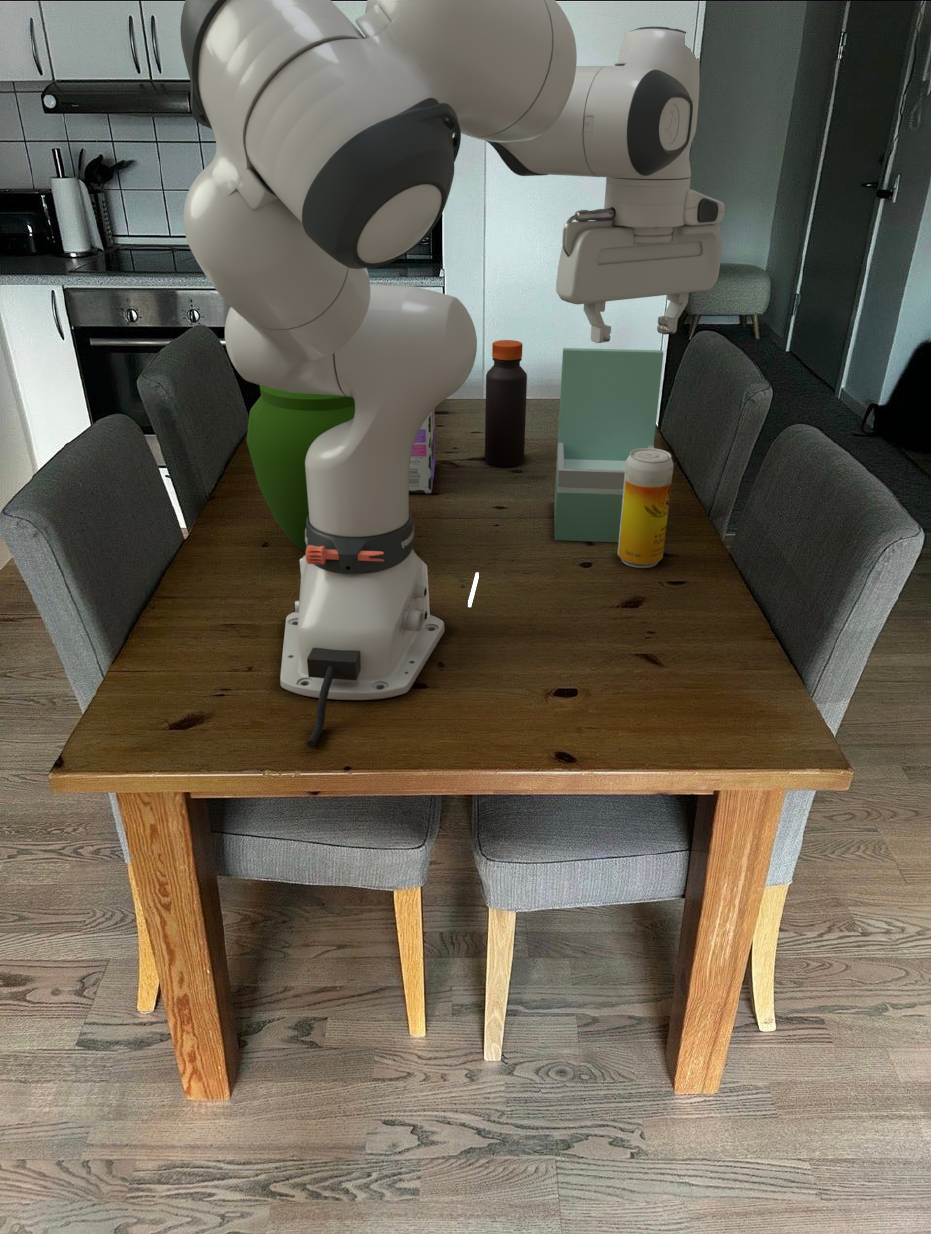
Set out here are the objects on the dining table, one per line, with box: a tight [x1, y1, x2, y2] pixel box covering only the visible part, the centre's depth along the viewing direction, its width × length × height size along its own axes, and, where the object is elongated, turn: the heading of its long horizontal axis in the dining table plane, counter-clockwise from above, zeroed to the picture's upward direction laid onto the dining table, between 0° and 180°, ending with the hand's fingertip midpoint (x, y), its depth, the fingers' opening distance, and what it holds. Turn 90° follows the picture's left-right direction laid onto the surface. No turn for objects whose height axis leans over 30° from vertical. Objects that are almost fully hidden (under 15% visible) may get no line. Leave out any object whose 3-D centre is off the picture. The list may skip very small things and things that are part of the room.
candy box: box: [409, 408, 436, 494], centre depth 152 cm, size 14×6×16 cm, turn 179°
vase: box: [246, 385, 355, 553], centre depth 127 cm, size 20×20×24 cm
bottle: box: [484, 339, 528, 468], centre depth 159 cm, size 7×7×20 cm
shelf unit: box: [553, 347, 664, 543], centre depth 135 cm, size 13×14×24 cm
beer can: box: [617, 447, 675, 569], centre depth 126 cm, size 6×6×15 cm
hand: (633, 337), depth 109 cm, fingers open, 8 cm apart
